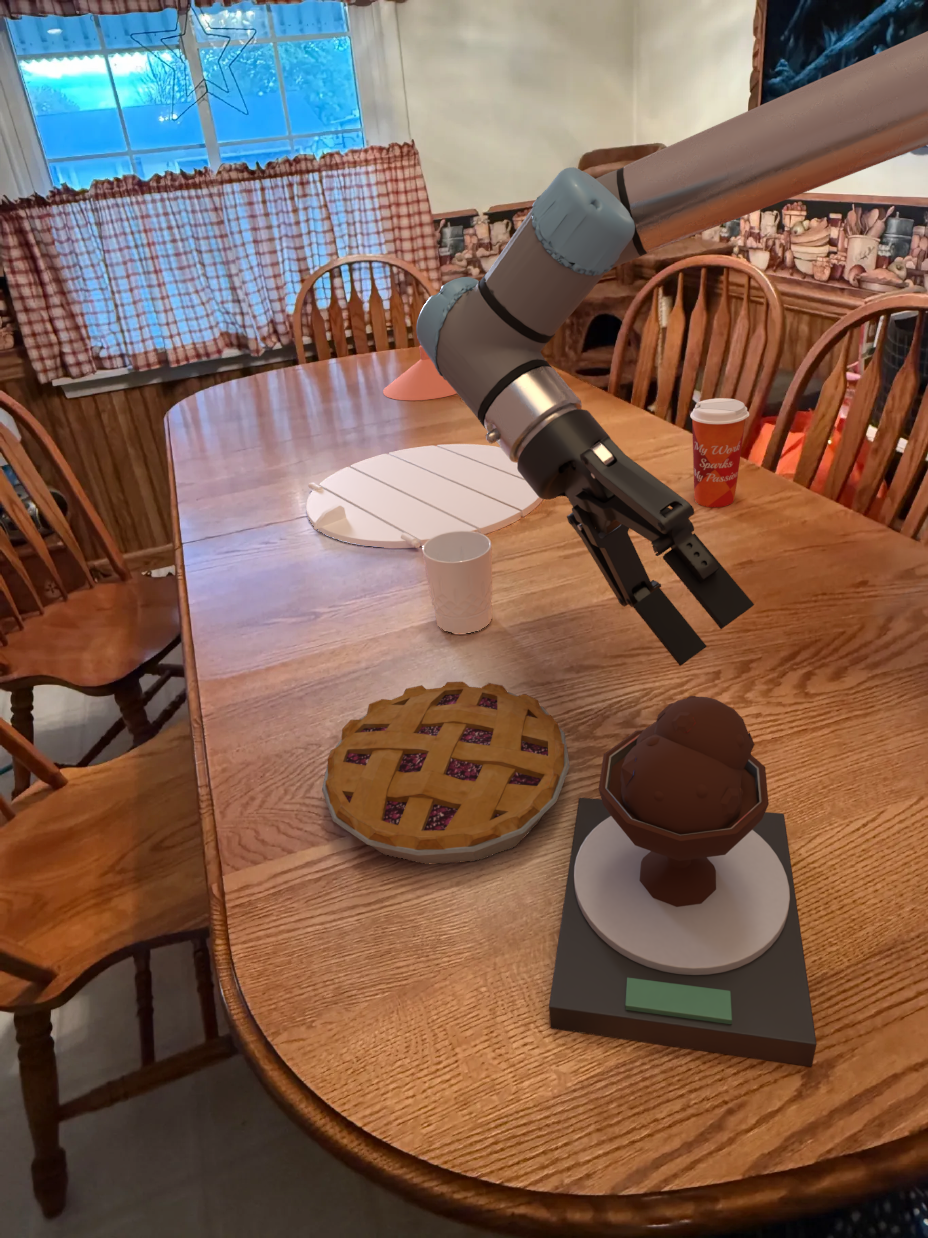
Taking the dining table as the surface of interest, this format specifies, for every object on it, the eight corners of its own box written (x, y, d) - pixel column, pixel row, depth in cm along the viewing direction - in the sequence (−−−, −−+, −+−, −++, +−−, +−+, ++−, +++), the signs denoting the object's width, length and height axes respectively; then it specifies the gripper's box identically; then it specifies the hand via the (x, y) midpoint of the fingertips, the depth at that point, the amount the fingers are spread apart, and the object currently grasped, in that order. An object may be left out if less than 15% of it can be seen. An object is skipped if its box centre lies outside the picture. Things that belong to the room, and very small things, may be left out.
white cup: (485, 641, 94) (478, 565, 89) (421, 634, 97) (411, 559, 91) (504, 606, 100) (500, 533, 95) (444, 600, 103) (436, 528, 97)
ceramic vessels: (392, 406, 177) (378, 315, 167) (376, 382, 195) (362, 299, 185) (545, 378, 183) (540, 289, 173) (516, 358, 201) (510, 276, 191)
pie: (294, 872, 67) (281, 829, 65) (367, 708, 86) (359, 669, 83) (560, 892, 63) (557, 846, 60) (578, 714, 81) (577, 673, 78)
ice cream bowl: (632, 804, 66) (632, 648, 58) (776, 851, 60) (798, 686, 52) (575, 900, 58) (567, 737, 50) (733, 964, 53) (752, 792, 45)
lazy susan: (382, 578, 110) (378, 555, 108) (263, 501, 138) (258, 481, 136) (599, 486, 128) (599, 466, 126) (454, 435, 156) (452, 417, 155)
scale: (781, 835, 65) (785, 805, 64) (812, 1067, 50) (818, 1037, 48) (579, 817, 69) (578, 789, 68) (550, 1029, 54) (547, 999, 52)
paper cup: (685, 509, 118) (688, 414, 111) (689, 488, 124) (692, 397, 117) (742, 511, 116) (749, 414, 108) (743, 489, 122) (750, 396, 114)
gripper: (511, 516, 80) (647, 692, 75) (515, 383, 56) (716, 628, 51) (573, 474, 81) (711, 645, 76) (603, 324, 57) (809, 561, 52)
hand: (713, 639), depth 64 cm, fingers open, 13 cm apart
